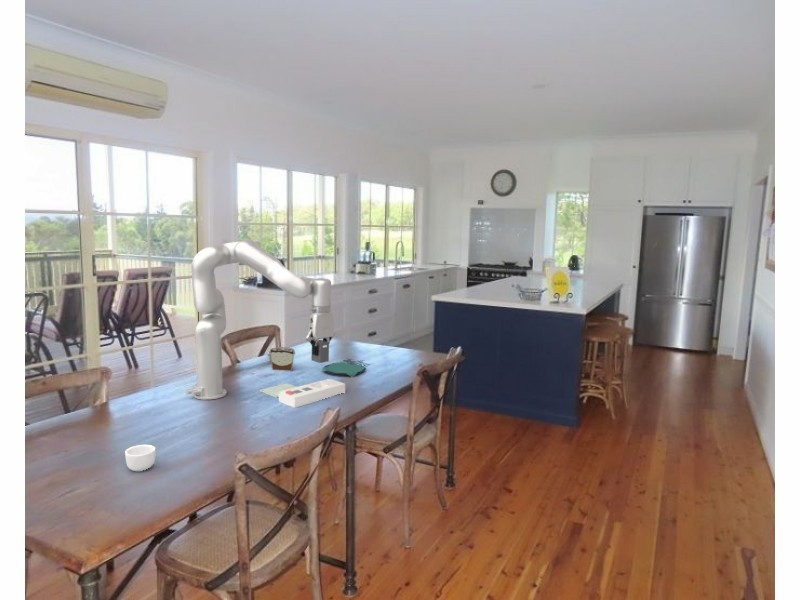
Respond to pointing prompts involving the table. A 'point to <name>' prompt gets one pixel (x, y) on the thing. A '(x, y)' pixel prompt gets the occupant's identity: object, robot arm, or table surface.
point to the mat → (276, 389)
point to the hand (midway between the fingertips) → (320, 353)
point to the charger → (322, 352)
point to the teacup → (140, 457)
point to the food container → (282, 358)
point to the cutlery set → (344, 368)
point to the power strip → (311, 392)
